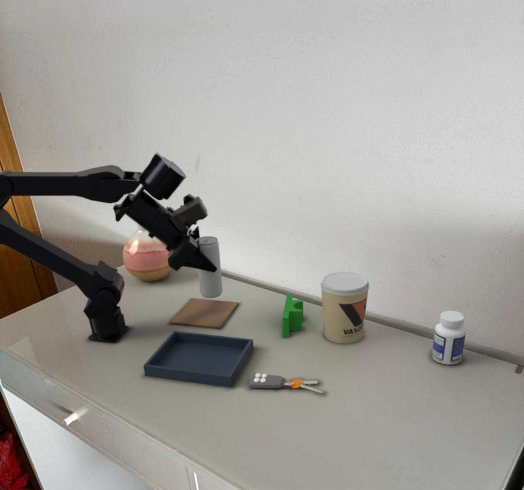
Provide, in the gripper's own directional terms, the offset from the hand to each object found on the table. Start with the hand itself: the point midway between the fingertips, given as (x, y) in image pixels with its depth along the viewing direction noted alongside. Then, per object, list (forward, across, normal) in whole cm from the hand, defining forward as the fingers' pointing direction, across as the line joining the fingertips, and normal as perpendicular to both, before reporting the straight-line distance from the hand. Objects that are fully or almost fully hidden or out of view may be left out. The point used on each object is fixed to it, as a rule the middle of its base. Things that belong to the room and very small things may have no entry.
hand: (215, 265), depth 103 cm
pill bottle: (+38, -23, -20) cm, 49 cm away
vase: (-2, +30, +22) cm, 37 cm away
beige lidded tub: (+27, -10, -8) cm, 30 cm away
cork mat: (+7, +5, +12) cm, 15 cm away
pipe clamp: (+20, -4, -2) cm, 21 cm away
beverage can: (+4, 0, +6) cm, 7 cm away
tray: (+6, -15, +13) cm, 21 cm away
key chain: (+17, -26, +2) cm, 31 cm away
